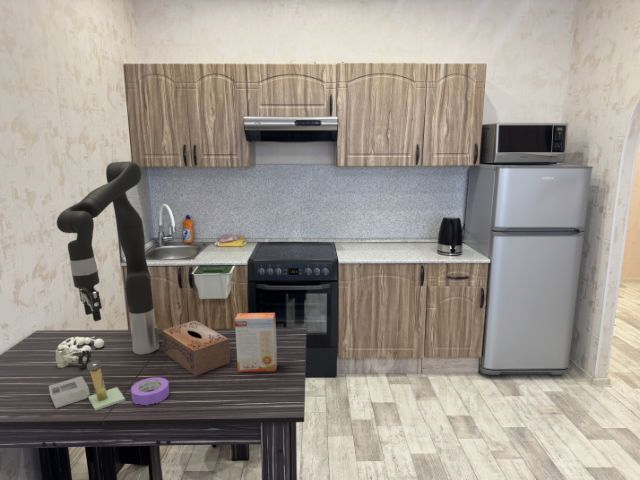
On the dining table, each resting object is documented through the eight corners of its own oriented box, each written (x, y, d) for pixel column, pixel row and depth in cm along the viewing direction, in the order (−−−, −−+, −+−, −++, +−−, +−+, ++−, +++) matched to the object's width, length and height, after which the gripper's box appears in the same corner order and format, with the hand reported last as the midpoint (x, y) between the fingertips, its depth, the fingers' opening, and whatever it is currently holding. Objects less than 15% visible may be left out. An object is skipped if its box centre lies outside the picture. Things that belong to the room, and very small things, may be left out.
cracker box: (277, 364, 170) (275, 311, 166) (275, 372, 164) (273, 318, 160) (240, 364, 171) (237, 312, 166) (237, 372, 165) (234, 318, 160)
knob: (95, 397, 148) (86, 363, 145) (108, 392, 150) (99, 358, 147) (96, 403, 145) (87, 367, 142) (109, 398, 147) (100, 363, 144)
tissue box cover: (230, 363, 172) (228, 338, 170) (195, 376, 163) (193, 351, 160) (196, 342, 191) (195, 320, 188) (164, 353, 181) (161, 330, 179)
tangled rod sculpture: (47, 353, 185) (45, 344, 184) (80, 337, 197) (78, 328, 196) (76, 362, 176) (73, 353, 175) (108, 345, 188) (106, 336, 186)
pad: (117, 389, 155) (117, 386, 154) (125, 400, 148) (124, 398, 148) (88, 398, 149) (88, 396, 149) (95, 410, 142) (95, 408, 142)
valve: (52, 369, 169) (81, 371, 167) (49, 353, 167) (79, 354, 166) (64, 361, 175) (92, 362, 174) (61, 345, 174) (90, 347, 172)
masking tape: (134, 390, 154) (132, 379, 154) (169, 384, 157) (169, 374, 157) (130, 408, 143) (128, 397, 143) (168, 402, 146) (167, 391, 146)
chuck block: (83, 385, 157) (81, 374, 156) (89, 397, 150) (88, 386, 149) (50, 395, 151) (48, 384, 150) (55, 408, 144) (53, 396, 143)
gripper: (66, 270, 151) (75, 315, 155) (78, 278, 141) (88, 326, 144) (90, 264, 156) (98, 308, 160) (103, 272, 146) (112, 319, 149)
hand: (93, 317), depth 152 cm, fingers open, 8 cm apart
